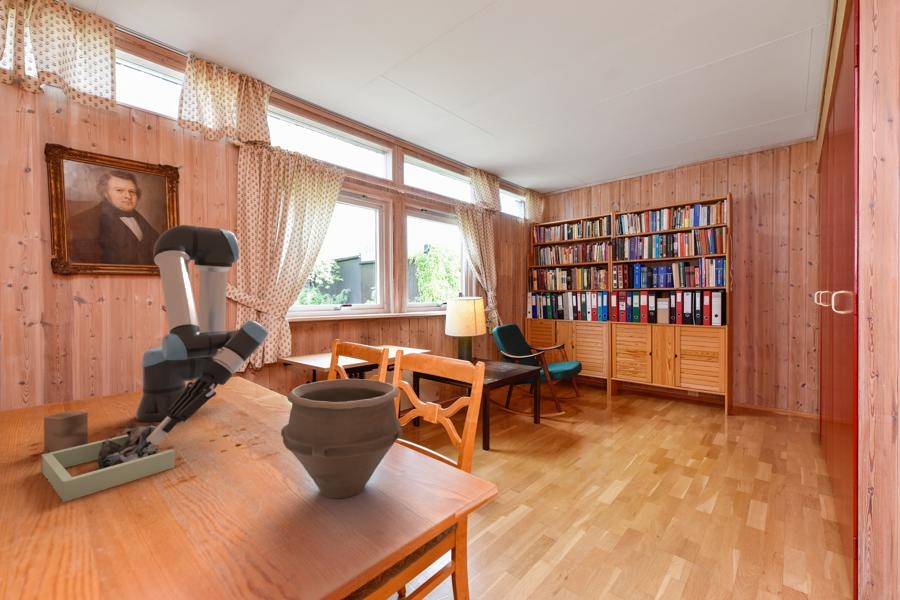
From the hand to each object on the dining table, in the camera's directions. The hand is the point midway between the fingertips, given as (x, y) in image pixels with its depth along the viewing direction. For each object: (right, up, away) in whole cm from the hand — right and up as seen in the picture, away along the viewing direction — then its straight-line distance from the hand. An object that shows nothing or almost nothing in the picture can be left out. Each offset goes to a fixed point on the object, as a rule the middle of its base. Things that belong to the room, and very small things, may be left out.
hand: (151, 442), depth 97 cm
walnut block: (-27, -4, +6) cm, 28 cm away
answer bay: (-5, -4, -6) cm, 9 cm away
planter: (+52, -5, -14) cm, 54 cm away
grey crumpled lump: (-4, -4, -1) cm, 6 cm away
